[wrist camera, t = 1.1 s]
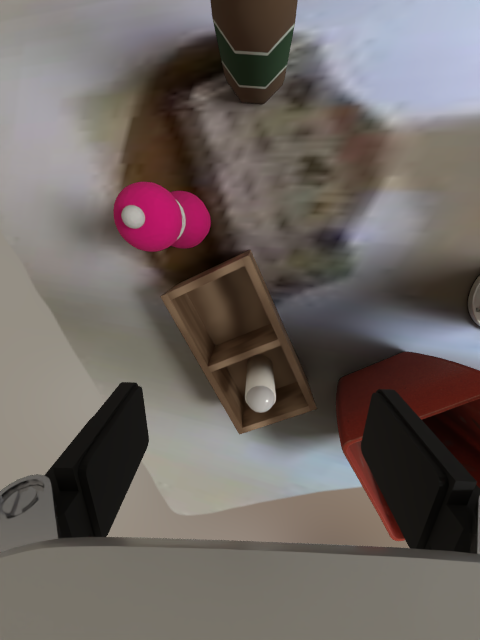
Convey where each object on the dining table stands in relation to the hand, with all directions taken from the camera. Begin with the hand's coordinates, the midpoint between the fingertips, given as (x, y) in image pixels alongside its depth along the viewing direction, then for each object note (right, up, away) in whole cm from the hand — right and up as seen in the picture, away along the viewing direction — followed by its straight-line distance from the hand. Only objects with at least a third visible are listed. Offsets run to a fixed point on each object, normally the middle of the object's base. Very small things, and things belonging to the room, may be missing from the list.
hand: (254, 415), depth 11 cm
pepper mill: (-8, +19, +29) cm, 35 cm away
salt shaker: (+3, -4, +35) cm, 35 cm away
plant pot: (+25, -9, +36) cm, 45 cm away
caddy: (0, +1, +34) cm, 34 cm away
